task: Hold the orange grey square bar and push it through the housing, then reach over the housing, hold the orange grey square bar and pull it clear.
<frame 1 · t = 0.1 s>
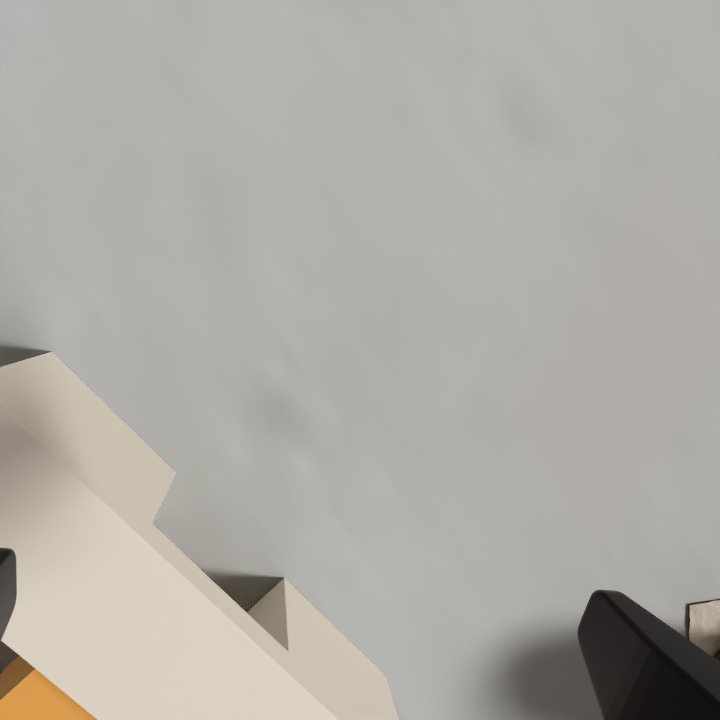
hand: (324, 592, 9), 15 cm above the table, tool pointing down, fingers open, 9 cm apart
housing: (187, 567, 24), on the table
orange grey square bar: (78, 664, 24), on the table
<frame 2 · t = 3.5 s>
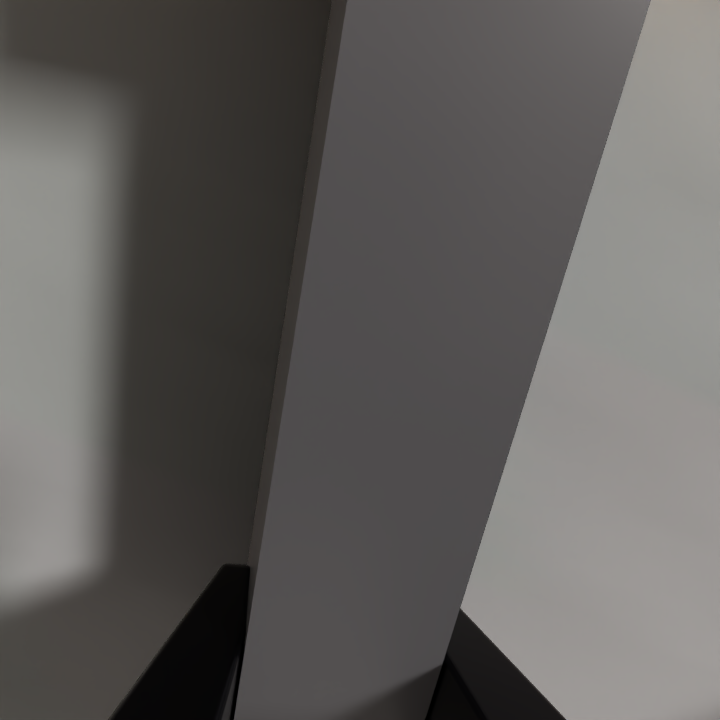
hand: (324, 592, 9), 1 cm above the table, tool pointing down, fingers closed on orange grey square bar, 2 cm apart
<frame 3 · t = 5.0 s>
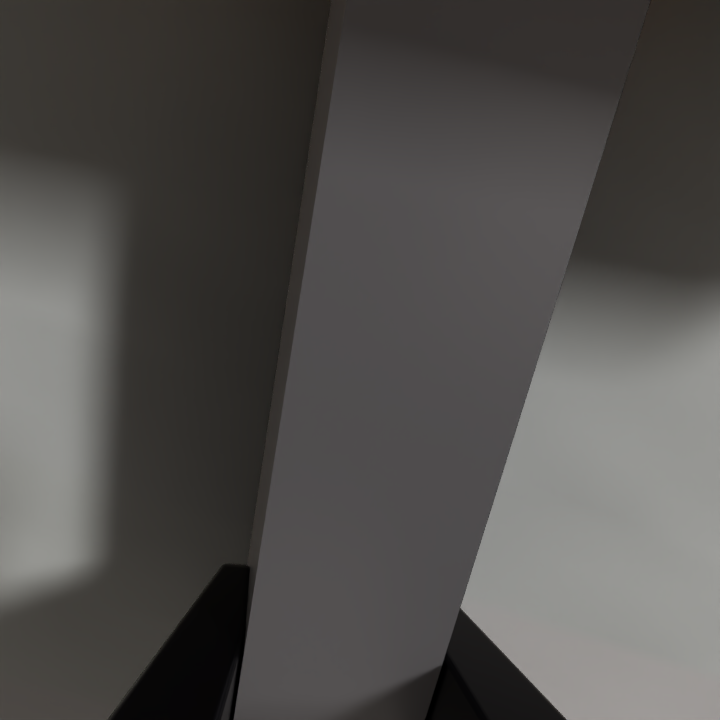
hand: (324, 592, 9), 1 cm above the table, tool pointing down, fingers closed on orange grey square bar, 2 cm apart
when the fingers open (1 cm above the table, at t = 6.7 s): orange grey square bar stays where it is, on the table.
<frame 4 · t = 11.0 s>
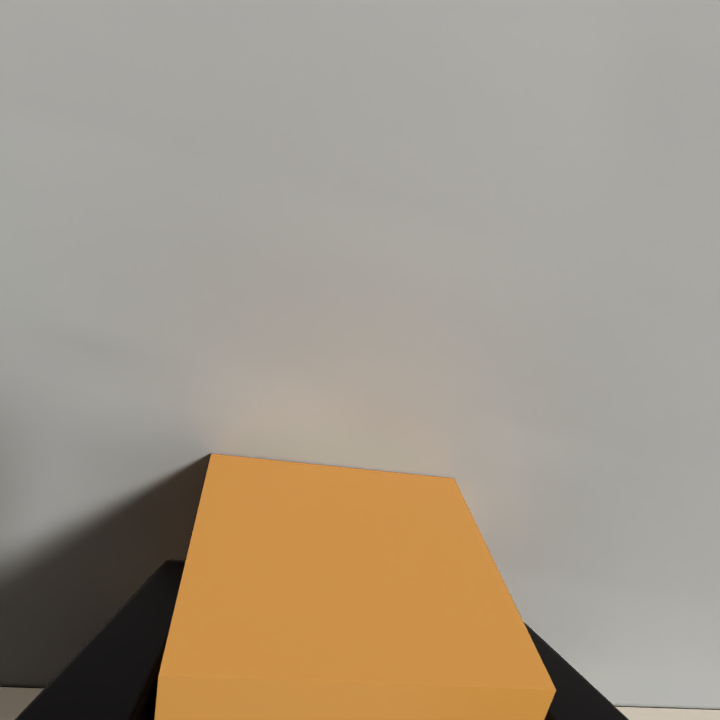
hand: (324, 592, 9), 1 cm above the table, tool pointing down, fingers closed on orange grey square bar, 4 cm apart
orange grey square bar: (317, 565, 10), on the table, touching gripper
when the fingers open (1 cm above the table, at t = 12.6 s): orange grey square bar stays where it is, on the table.
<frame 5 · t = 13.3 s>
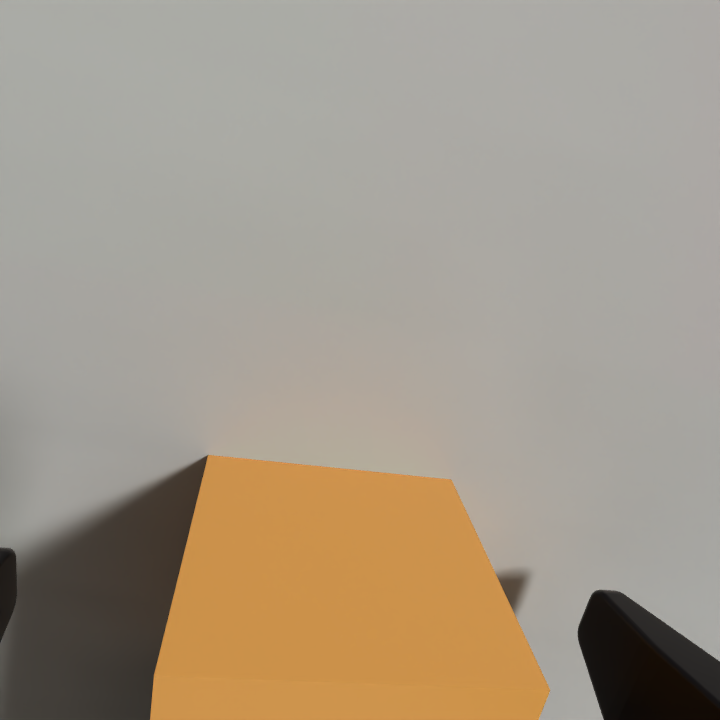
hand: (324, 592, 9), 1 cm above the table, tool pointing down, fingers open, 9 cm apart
orange grey square bar: (314, 565, 10), on the table
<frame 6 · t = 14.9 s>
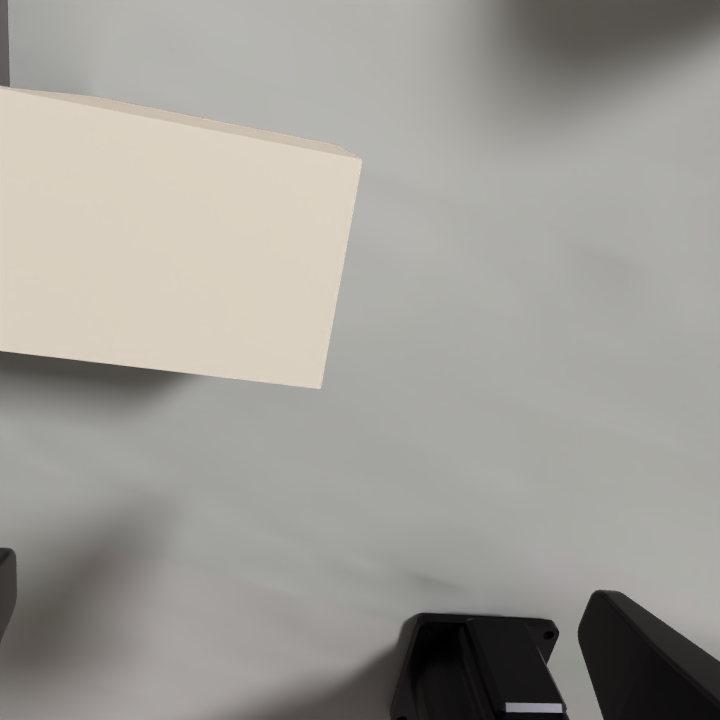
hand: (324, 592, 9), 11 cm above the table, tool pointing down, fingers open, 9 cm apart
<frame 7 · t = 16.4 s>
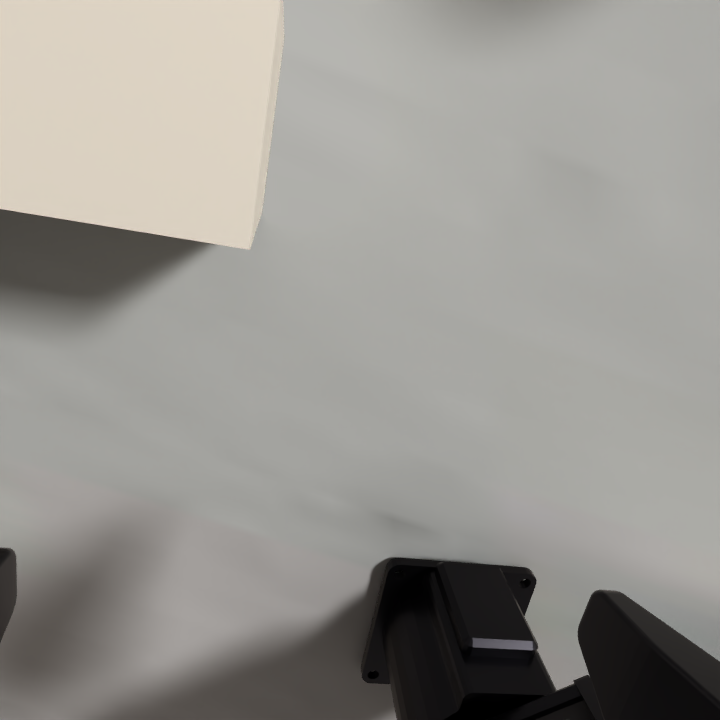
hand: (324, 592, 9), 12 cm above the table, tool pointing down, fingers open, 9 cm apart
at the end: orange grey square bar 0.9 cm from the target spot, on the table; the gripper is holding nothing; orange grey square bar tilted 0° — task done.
